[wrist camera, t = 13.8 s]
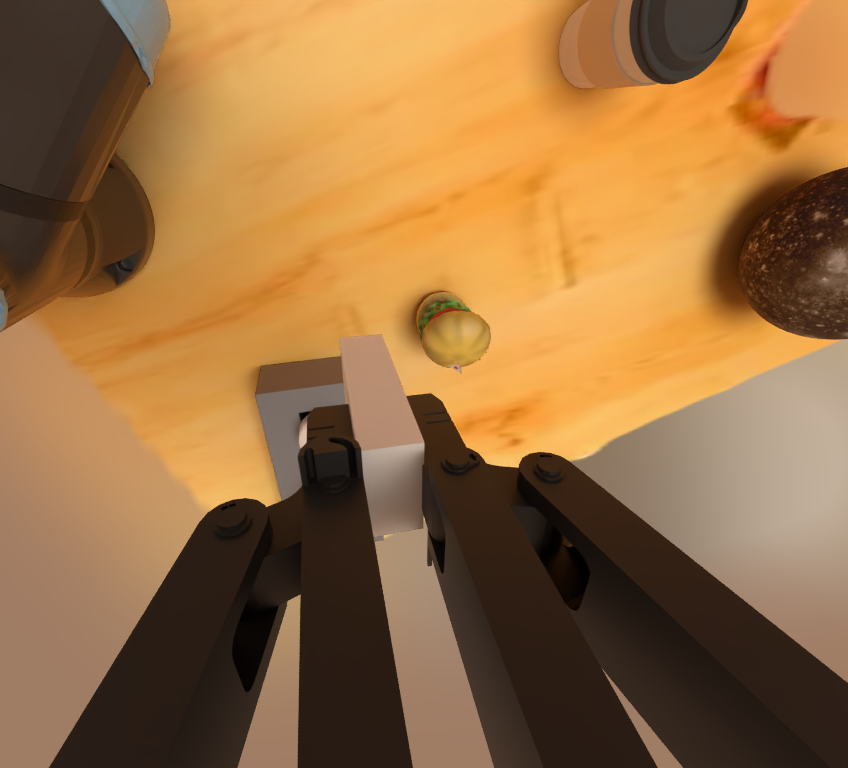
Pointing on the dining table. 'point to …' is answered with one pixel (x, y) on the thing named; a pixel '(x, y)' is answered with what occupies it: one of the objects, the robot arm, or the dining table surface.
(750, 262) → the decorative sphere
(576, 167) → the dining table surface
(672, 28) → the coffee cup
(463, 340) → the hamburger
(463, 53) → the dining table surface
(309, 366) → the mount block
